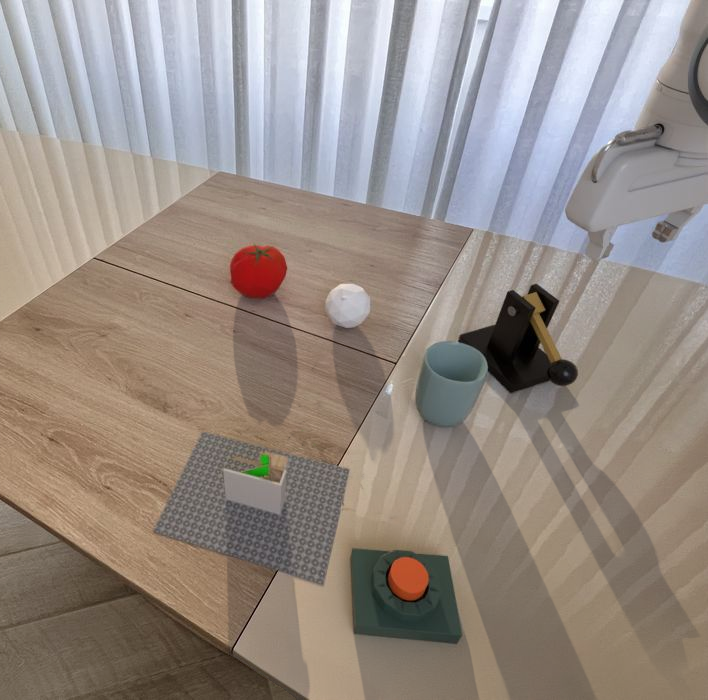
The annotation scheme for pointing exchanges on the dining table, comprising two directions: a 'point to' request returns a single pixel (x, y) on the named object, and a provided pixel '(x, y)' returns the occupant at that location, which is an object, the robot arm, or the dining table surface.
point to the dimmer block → (398, 614)
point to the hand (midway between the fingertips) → (629, 247)
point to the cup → (449, 383)
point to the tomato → (258, 271)
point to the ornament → (347, 305)
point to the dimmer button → (408, 578)
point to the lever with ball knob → (551, 347)
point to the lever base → (515, 342)
